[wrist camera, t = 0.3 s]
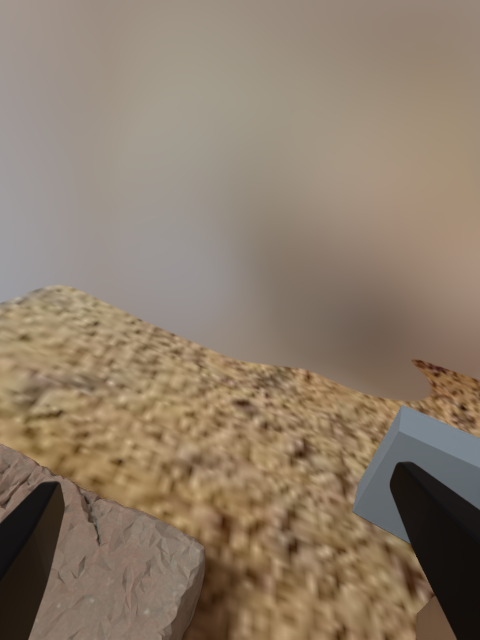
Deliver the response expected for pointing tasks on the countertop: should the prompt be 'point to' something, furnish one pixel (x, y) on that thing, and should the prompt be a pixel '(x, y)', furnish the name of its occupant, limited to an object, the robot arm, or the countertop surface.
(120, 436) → the countertop surface
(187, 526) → the countertop surface
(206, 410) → the countertop surface
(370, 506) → the slate board
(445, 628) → the walnut box
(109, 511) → the brick
